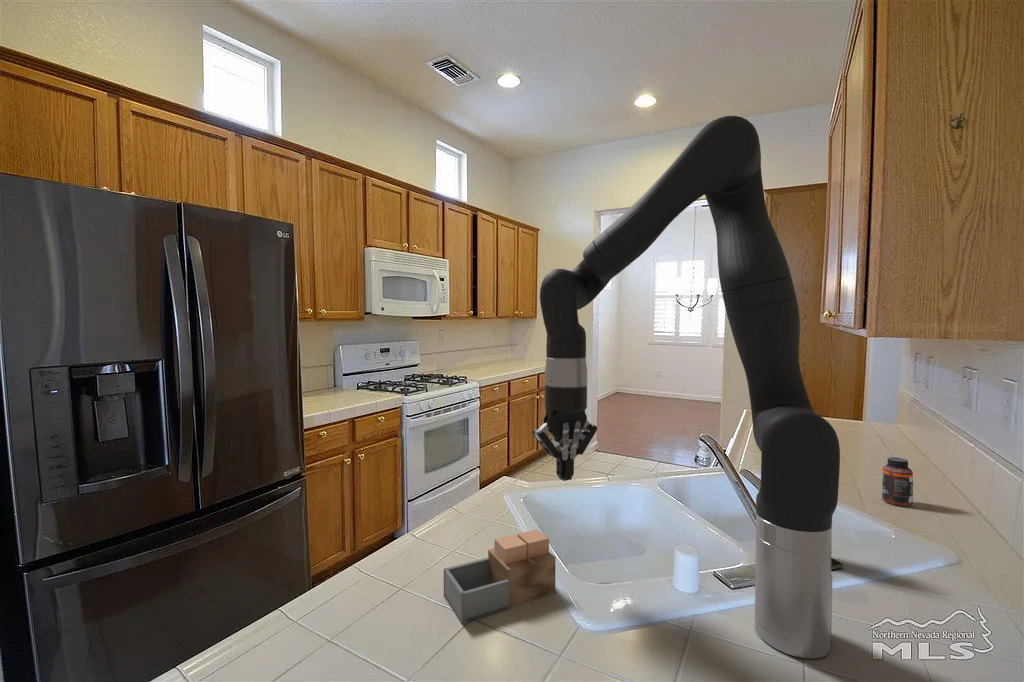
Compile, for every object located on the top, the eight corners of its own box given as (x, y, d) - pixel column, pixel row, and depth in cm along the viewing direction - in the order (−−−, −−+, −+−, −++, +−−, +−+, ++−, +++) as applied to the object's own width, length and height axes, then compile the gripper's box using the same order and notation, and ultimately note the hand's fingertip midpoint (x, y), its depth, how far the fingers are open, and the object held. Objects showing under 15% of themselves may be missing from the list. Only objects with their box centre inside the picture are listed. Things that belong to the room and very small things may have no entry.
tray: (487, 583, 79) (487, 557, 79) (509, 609, 72) (509, 581, 72) (443, 595, 75) (443, 568, 75) (461, 624, 68) (461, 594, 68)
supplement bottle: (919, 507, 113) (920, 462, 112) (894, 507, 113) (895, 462, 113) (899, 498, 119) (900, 455, 118) (876, 498, 119) (876, 455, 118)
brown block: (533, 571, 83) (533, 538, 83) (555, 592, 76) (555, 557, 76) (488, 583, 79) (488, 549, 79) (507, 607, 72) (507, 570, 72)
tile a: (537, 543, 81) (537, 529, 81) (548, 552, 78) (548, 538, 78) (517, 548, 79) (517, 533, 79) (528, 558, 76) (528, 543, 76)
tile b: (515, 548, 79) (515, 534, 79) (526, 558, 76) (526, 543, 76) (494, 553, 77) (494, 539, 77) (505, 564, 74) (505, 549, 74)
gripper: (545, 387, 74) (544, 491, 75) (608, 383, 81) (607, 479, 81) (523, 382, 81) (522, 478, 82) (583, 379, 87) (582, 468, 88)
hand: (565, 479), depth 81 cm, fingers closed
